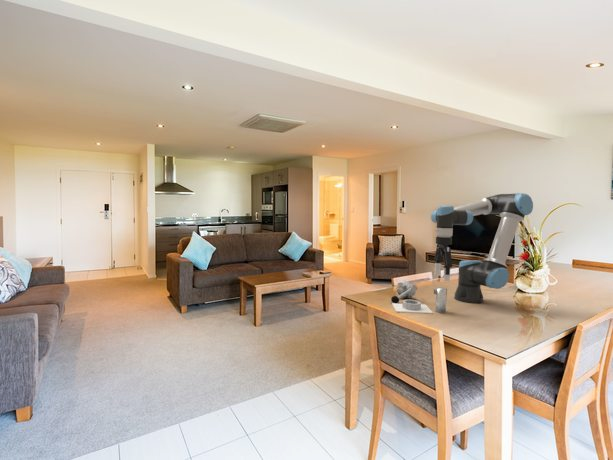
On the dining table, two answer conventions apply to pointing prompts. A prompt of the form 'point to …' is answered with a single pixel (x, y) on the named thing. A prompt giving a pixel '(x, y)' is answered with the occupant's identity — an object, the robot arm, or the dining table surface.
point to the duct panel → (411, 307)
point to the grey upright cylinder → (441, 299)
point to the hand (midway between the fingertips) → (441, 278)
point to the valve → (404, 291)
